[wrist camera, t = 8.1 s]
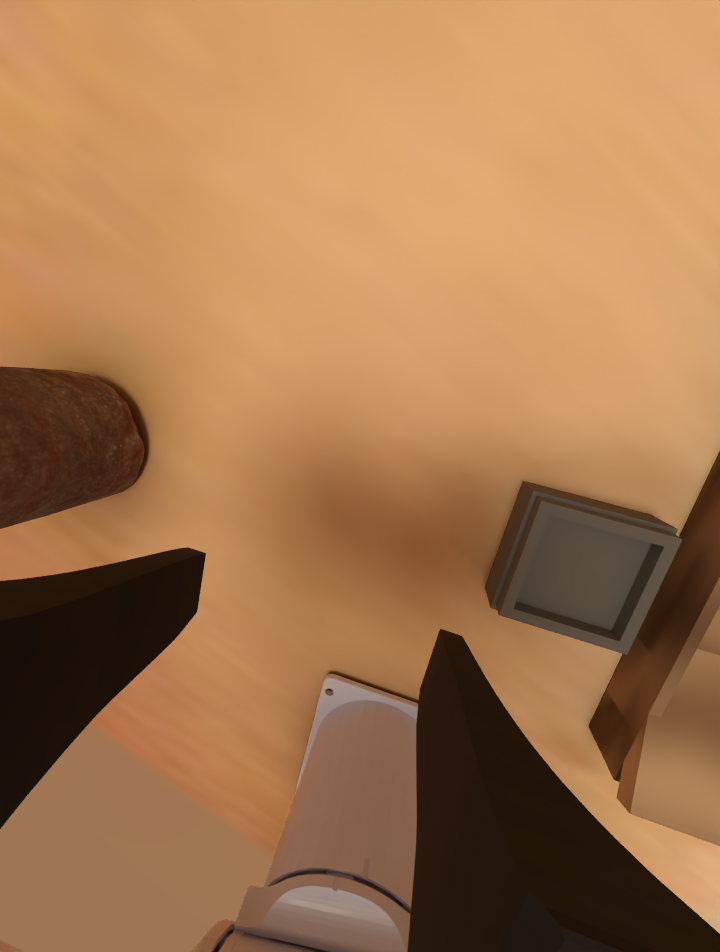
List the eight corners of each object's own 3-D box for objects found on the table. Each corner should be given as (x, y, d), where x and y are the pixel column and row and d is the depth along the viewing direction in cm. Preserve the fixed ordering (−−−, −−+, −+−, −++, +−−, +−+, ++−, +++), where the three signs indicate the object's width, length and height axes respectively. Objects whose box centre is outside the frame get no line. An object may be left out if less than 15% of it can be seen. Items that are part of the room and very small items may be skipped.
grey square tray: (602, 623, 19) (629, 660, 17) (485, 587, 20) (493, 617, 18) (651, 515, 18) (690, 535, 15) (523, 480, 19) (538, 495, 16)
